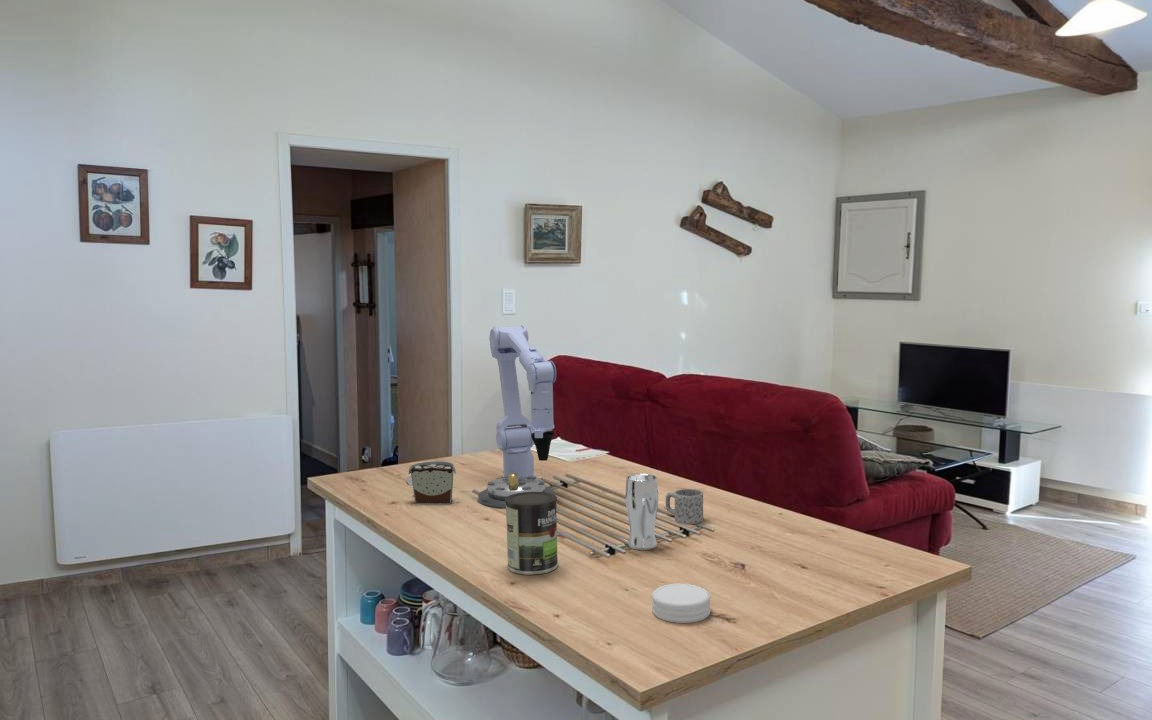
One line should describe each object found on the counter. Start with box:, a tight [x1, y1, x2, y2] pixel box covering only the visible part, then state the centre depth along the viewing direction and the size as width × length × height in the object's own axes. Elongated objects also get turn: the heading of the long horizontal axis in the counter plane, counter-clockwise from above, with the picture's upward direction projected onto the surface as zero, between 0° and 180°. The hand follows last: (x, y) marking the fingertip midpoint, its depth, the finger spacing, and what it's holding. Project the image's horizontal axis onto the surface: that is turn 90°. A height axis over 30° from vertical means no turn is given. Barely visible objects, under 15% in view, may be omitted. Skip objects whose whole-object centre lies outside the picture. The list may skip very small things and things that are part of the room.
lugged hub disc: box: [487, 473, 546, 500], centre depth 219 cm, size 15×15×6 cm
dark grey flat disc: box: [477, 486, 556, 509], centre depth 220 cm, size 20×20×1 cm
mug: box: [665, 488, 704, 525], centre depth 198 cm, size 10×7×7 cm, turn 47°
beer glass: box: [625, 473, 659, 551], centre depth 179 cm, size 7×7×15 cm
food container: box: [408, 460, 457, 505], centre depth 218 cm, size 12×6×10 cm, turn 84°
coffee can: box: [505, 492, 559, 576], centre depth 168 cm, size 10×10×14 cm
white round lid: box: [651, 583, 711, 624], centre depth 144 cm, size 10×10×4 cm
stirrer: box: [406, 475, 413, 487], centre depth 231 cm, size 20×4×5 cm
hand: (543, 460), depth 217 cm, fingers closed
